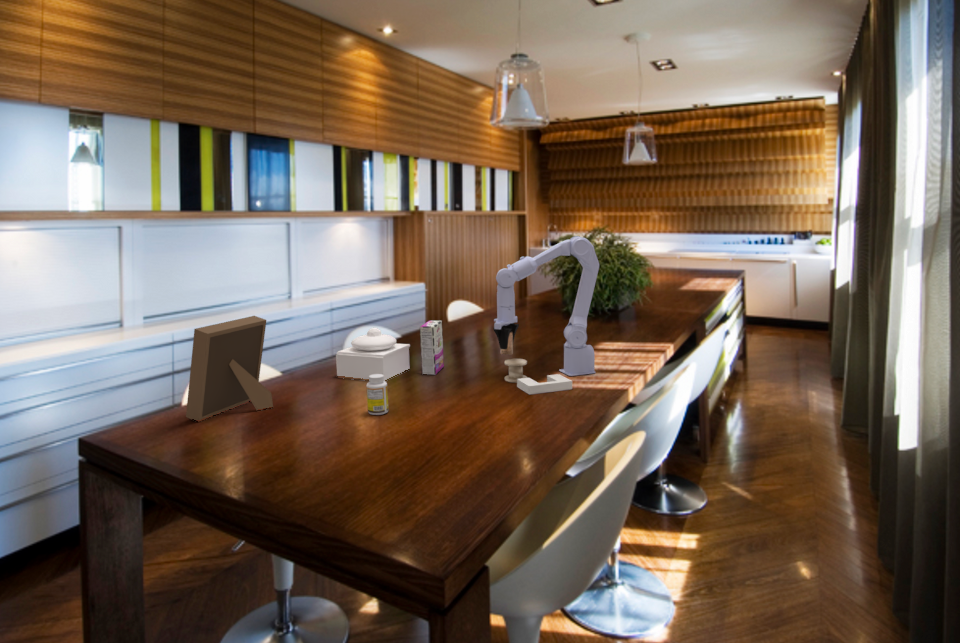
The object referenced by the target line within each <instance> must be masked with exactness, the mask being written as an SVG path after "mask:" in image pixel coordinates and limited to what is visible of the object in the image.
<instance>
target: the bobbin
mask: <svg viewBox="0 0 960 643" xmlns="http://www.w3.org/2000/svg"><path fill="white" fill-rule="evenodd" d="M527 364H528V360H526V359H523V358H510V359H509V358H508V359H505V360H504V365H505V366H508V375H506V376H504V381H505V382H507V383H513V384H514V383H515V384H517V379H521V378H528V376H527V375H524V374H523V373H524V368H523V367H524V366H526V365H527Z"/></svg>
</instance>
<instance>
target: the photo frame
mask: <svg viewBox="0 0 960 643" xmlns="http://www.w3.org/2000/svg"><path fill="white" fill-rule="evenodd" d="M266 325H267V319H265V318H263V317H259V316H256V315H252V316H246V317H243V318H241V317H240V318H238V319H233V320H227V321H225V322H220V323H215V324H210V325H206V326H200V327H197V328H194V329H193V330H194V331H193V338H192V340H193V342H192V343H193V344H192V352H191V362H190V371H189V381H188V382H189V383H188V393H187V401H186V402H187V403H186V412H185V418H187V419H190V420H192V419H194V420H201V419H203V418H206V417H209V416H211V415H214V414H217V413H219V412H222V411H225V410H228V409H230V408H233V407H235V406H238V405H240V404H242V403H245V402H247V401H249V400H251V402H250V403H251V404H252V405H253V407H254V408H255V410H256V411H257V410H258V409H263V408H269V407H273V408H274V403H273V397H272V396H273V394H272V392H271V391H270V390H269V389H267V387H265V386H264V384H262V383H261V382H260V375H261V368H262V367H261V366H262V358H263V350H264V342H265V335H266V334H265V333H266V327H267V326H266ZM194 420H193V421H194Z"/></svg>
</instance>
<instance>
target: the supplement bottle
mask: <svg viewBox="0 0 960 643" xmlns="http://www.w3.org/2000/svg"><path fill="white" fill-rule="evenodd" d="M365 386H366V402H367V412H368V414H370V415H371V416H381V415H384V414H387V413H388V412H389V409H390V408H389V396H388V395H389V394H388V390H389V389H388V383H387V381H384V375H382V374H373V375H370V376H369V381H368V382H367V383H366V385H365Z"/></svg>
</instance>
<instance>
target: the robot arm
mask: <svg viewBox="0 0 960 643" xmlns="http://www.w3.org/2000/svg"><path fill="white" fill-rule="evenodd" d="M595 250H596V249H595V246H594V245H593V244H592V243H591V241H590V240H589V239H587V238H586V237H584V236H583V237H582V236H578V235H574V236H572V237H571V238H570V239H568V238H567V239H565V240H563V241H560V242H558V243H557V244H554V245H552V246H551V247H549V248H548V249H546V250H544V251H542V252H541V253H538V254H536V255H535V256H534V257H531V256H529V255H526V256H521V257H519V260H518V261H515V262H514V263H512V264H510V263H509V264H507V265H506V267H507V268H505V267H504V268H501V269H499V270H498V271H497V273H496V276H495V280H496V282H497V286H496V291H497V292H496V311H497V312H496V315H497V316H496V318H494V319H493V322H494V325H493V332H494V334H495V335H496V337H497V340H498V345H499V349H507V347H508V339H509V334H510V331H511V332H512V333H513V343H514V341H515V337H516V333H517V330H518V329H519V324H518V316H517V315H516V304H515V303H516V301H515V300H516V296H515V294H516V293H515V283H516V282H520V281H522V280H523V279H526V278H527V277H529V276H531V275H534V274H535V273H536V272H537V269H538V267H539V266H541V265H543V264H546V263H548V262H550V261H551V260H554V259H556V258H558V257H560V256H564V257H565V256H566V257H568V256H569V257H570V256H572V257H574V258H576V259H577V261H578V262H579V264H580V266H581V267H582V272H581V274H580V275H581V276H580V280H579V284H578V288H577V291H576V292H577V293H576V297H575V301H574V304H573V308H572V313H571V315H570V318H569V321H568V324H567V325H566V326H565V328H564V329H563V336H564V338H565V340H566V341H565V343H563V368H561V369H560V368H559V370H558V371H559V372H561V373H562V374H564V375H566V376H569V377H573V376H574V377H576V376H582V375H591V374H596V373H597V372H596V370H595V358H596V357H595V350H594V348H593V346H592V345H591V344H587V341H588V334H587V327H588V315H589V312H590V307H591V302H592V300H593V295H594V290H595V286H596V281H597V278H598V273H599V269H600V262H599V260H598V259H599V258H598V256H597V254H596V251H595Z"/></svg>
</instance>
